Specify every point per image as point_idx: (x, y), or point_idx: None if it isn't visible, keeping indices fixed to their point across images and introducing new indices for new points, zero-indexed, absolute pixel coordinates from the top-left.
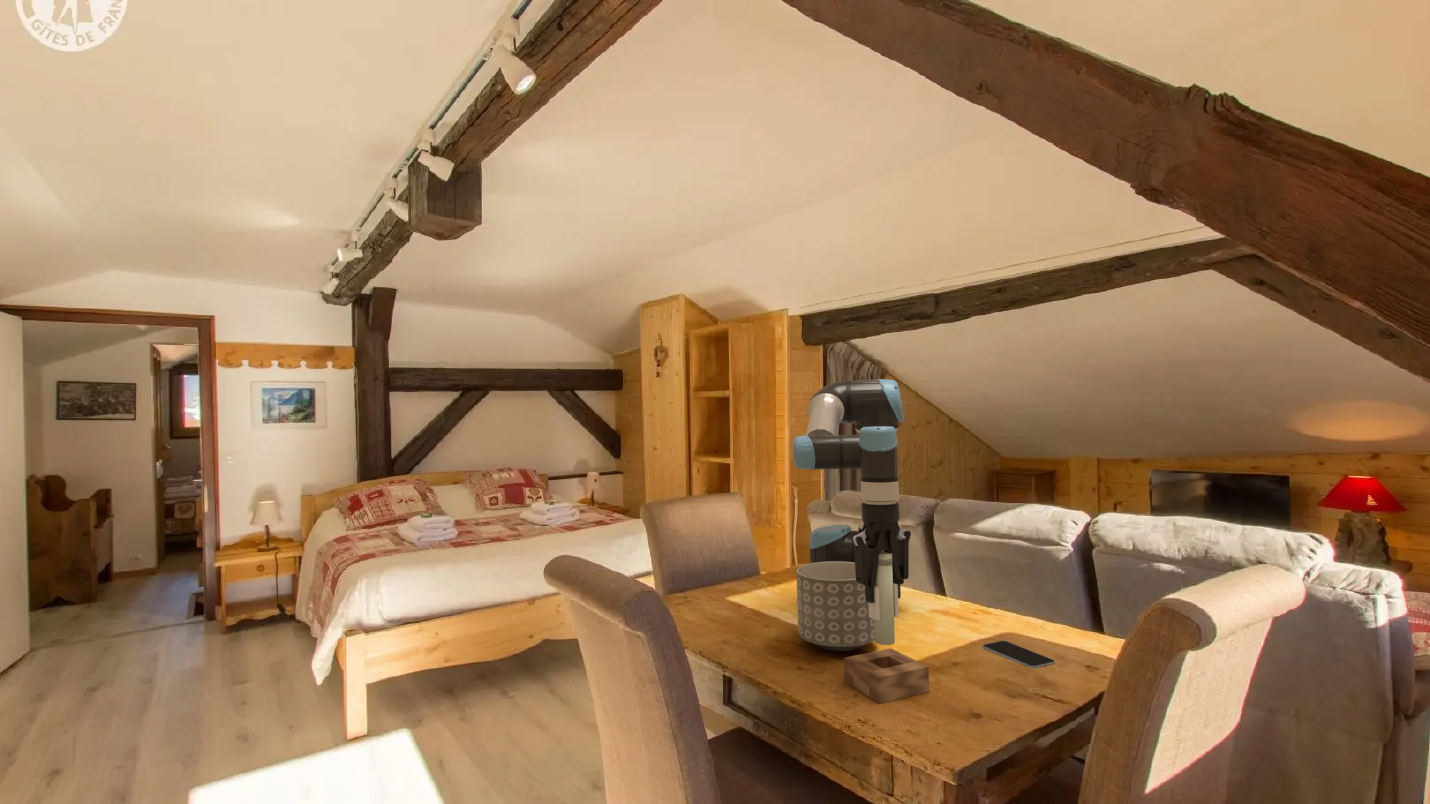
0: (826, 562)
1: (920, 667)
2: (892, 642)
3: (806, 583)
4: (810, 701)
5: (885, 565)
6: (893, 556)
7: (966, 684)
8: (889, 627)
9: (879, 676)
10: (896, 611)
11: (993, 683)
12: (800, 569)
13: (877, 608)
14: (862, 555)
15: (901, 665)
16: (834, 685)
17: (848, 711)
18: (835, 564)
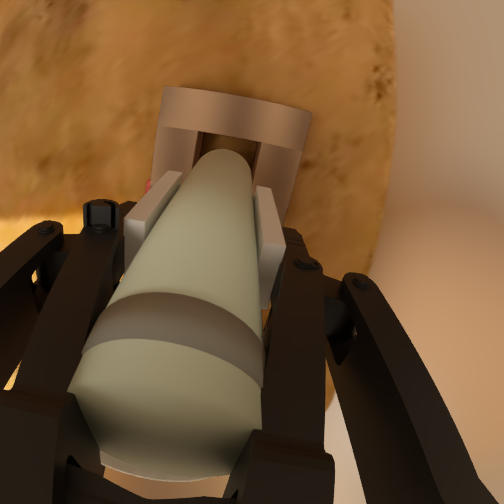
0: (118, 469)
1: (183, 92)
2: (220, 150)
3: None
4: (381, 201)
5: (215, 305)
6: (62, 357)
7: (95, 78)
8: (227, 159)
9: (306, 115)
10: (174, 176)
11: (59, 62)
12: (186, 477)
13: (270, 201)
14: (448, 429)
15: (209, 127)
16: (300, 222)
17: (368, 129)
18: (103, 459)
